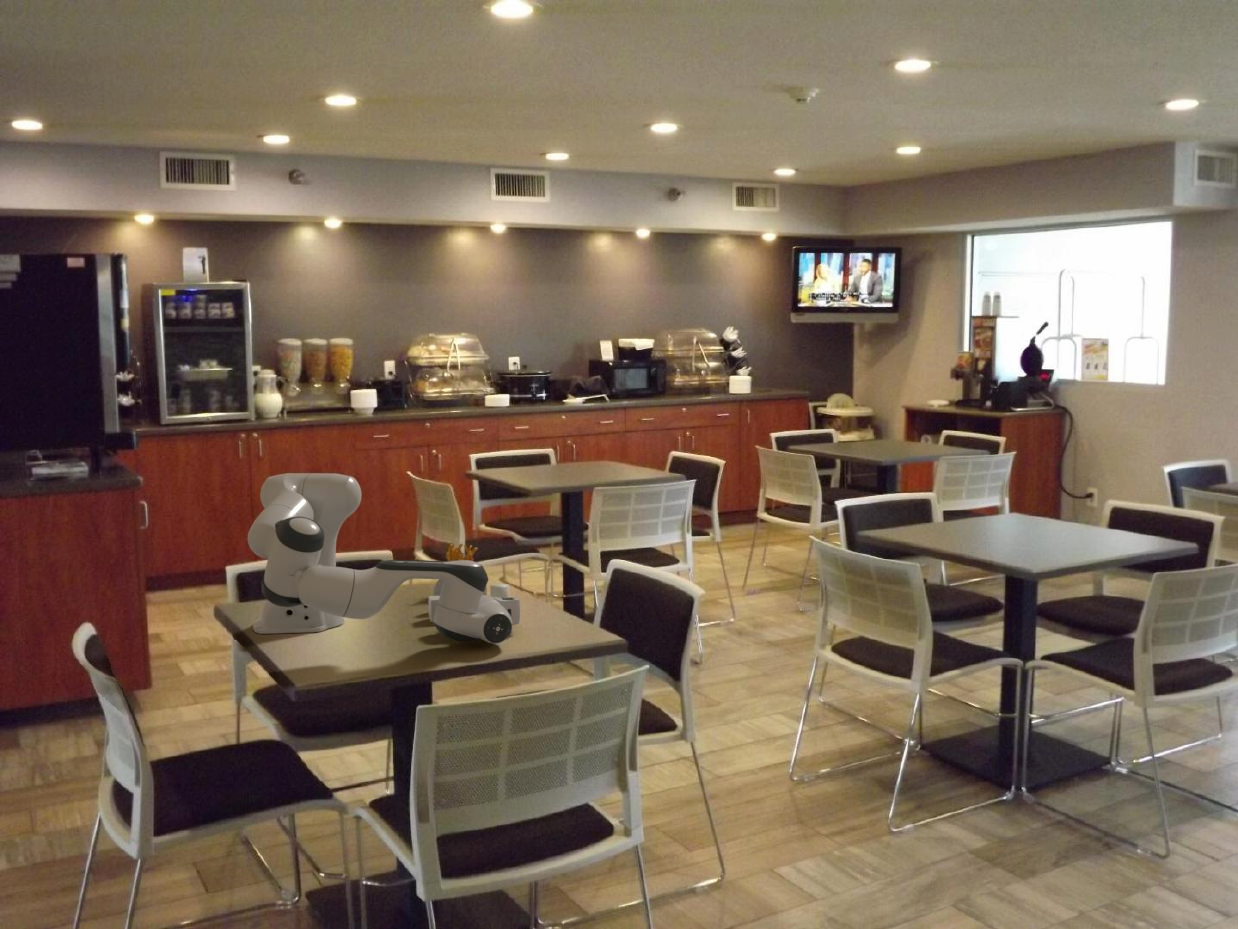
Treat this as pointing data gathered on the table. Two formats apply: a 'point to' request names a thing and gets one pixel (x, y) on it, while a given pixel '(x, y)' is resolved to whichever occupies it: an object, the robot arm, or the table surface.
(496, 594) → the white canister
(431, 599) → the grey cube
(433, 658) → the table surface
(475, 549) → the french fries
